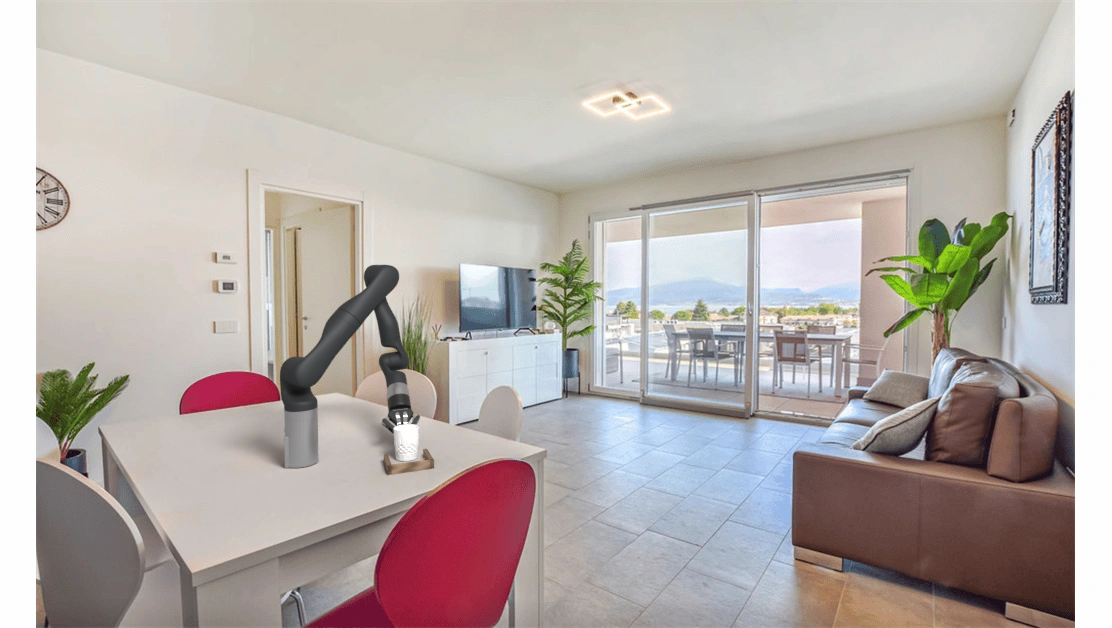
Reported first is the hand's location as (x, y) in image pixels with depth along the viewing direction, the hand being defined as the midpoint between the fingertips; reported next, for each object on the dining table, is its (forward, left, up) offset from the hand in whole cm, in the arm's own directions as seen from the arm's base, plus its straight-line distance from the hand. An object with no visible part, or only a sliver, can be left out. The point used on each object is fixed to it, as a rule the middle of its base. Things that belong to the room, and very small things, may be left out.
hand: (403, 443), depth 163 cm
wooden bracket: (0, -10, -4) cm, 11 cm away
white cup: (0, -4, -4) cm, 6 cm away
